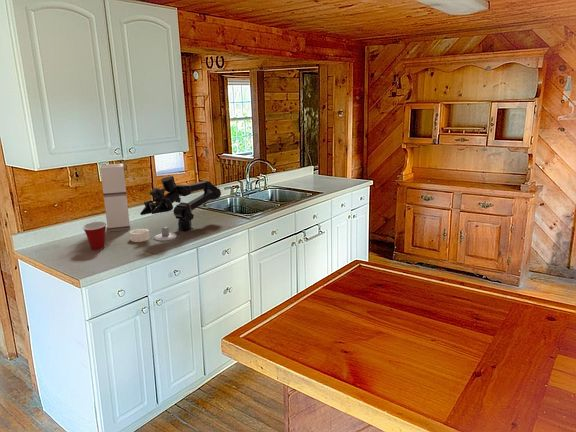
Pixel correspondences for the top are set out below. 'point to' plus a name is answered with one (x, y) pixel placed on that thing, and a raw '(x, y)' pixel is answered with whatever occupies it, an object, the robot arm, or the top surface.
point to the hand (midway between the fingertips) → (146, 213)
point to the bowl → (139, 235)
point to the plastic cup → (95, 234)
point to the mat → (165, 241)
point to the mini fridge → (115, 197)
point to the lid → (165, 235)
